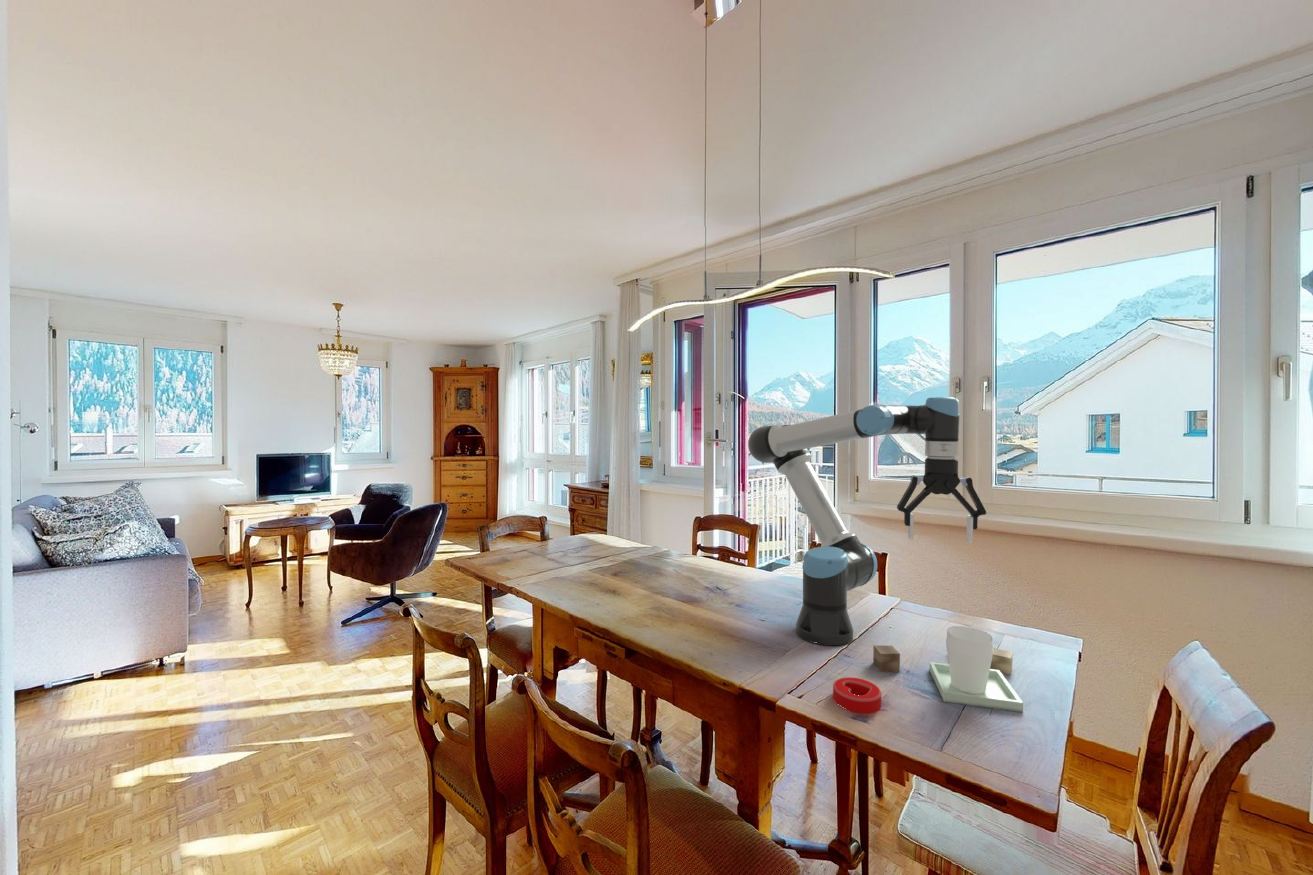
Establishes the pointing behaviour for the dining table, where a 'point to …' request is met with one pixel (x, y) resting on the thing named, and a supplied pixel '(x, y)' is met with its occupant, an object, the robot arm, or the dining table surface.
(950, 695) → the tray
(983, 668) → the cup
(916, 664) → the dining table surface
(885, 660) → the walnut block
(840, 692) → the decorative ornament
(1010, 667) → the oak block
